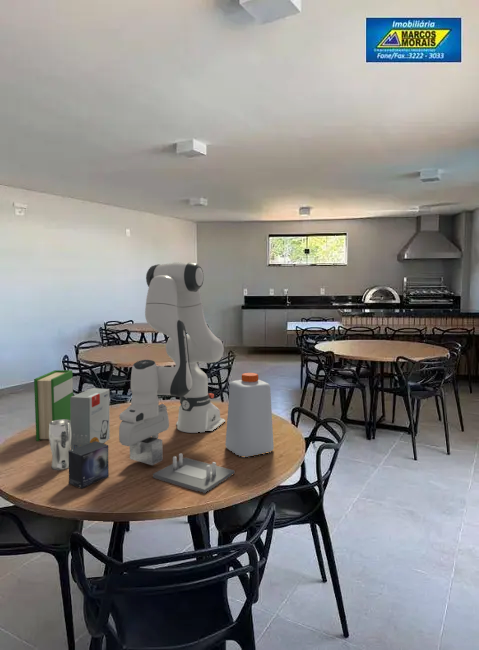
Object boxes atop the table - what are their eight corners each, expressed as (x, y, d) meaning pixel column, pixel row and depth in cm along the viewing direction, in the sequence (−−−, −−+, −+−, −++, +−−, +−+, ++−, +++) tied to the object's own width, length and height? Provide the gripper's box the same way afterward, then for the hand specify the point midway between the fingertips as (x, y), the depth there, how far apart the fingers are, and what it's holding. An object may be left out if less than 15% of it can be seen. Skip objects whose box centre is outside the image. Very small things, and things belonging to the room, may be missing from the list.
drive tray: (185, 460, 156) (185, 446, 155) (234, 474, 145) (234, 458, 145) (152, 477, 142) (152, 461, 142) (204, 493, 132) (204, 476, 131)
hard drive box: (89, 453, 162) (88, 398, 160) (70, 451, 163) (68, 397, 162) (110, 438, 177) (109, 388, 175) (92, 437, 179) (91, 387, 177)
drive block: (140, 453, 157) (140, 433, 156) (162, 460, 152) (162, 439, 151) (129, 458, 153) (129, 438, 152) (152, 465, 148) (151, 444, 147)
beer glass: (77, 464, 152) (75, 420, 151) (62, 472, 146) (61, 426, 144) (60, 461, 154) (58, 418, 153) (45, 469, 148) (43, 424, 146)
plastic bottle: (278, 452, 164) (279, 376, 161) (241, 460, 156) (242, 380, 154) (256, 440, 177) (257, 368, 174) (221, 446, 170) (221, 372, 167)
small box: (82, 489, 134) (81, 455, 133) (67, 484, 137) (66, 450, 136) (110, 476, 143) (109, 444, 142) (95, 472, 146) (95, 440, 145)
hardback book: (55, 441, 174) (53, 379, 172) (36, 441, 174) (34, 379, 172) (73, 426, 191) (72, 370, 189) (56, 426, 192) (54, 370, 189)
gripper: (159, 401, 161) (159, 439, 162) (115, 416, 144) (116, 458, 145) (172, 403, 158) (173, 442, 159) (129, 419, 140) (130, 462, 142)
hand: (146, 450), depth 152 cm, fingers closed on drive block, 5 cm apart
